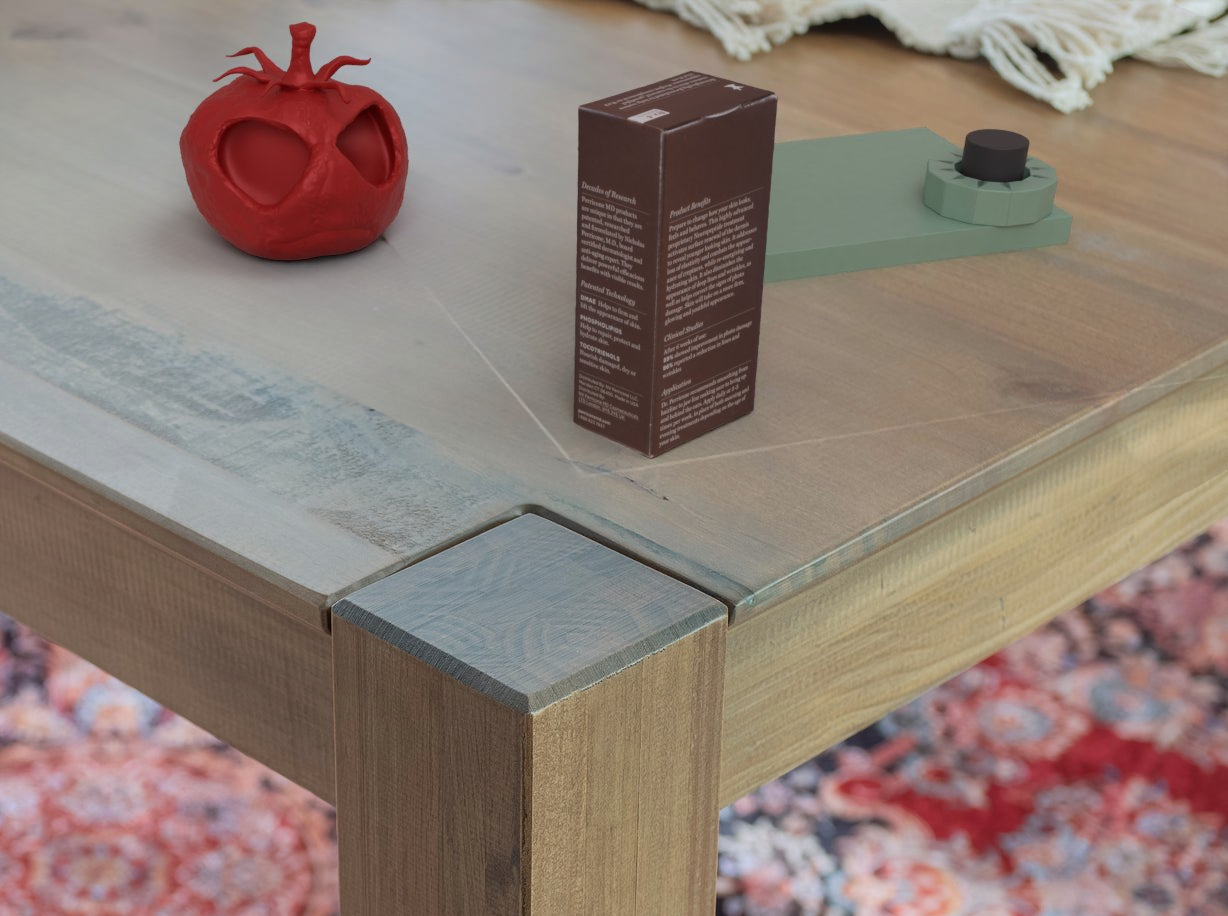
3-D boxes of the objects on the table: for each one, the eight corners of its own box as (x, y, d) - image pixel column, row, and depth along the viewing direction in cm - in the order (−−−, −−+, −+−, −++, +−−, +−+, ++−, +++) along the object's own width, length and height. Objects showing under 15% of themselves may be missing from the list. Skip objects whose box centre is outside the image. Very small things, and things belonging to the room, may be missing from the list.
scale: (921, 154, 96) (930, 94, 95) (1072, 248, 86) (1085, 183, 85) (631, 186, 92) (635, 124, 90) (754, 290, 82) (761, 222, 80)
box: (667, 377, 75) (692, 64, 68) (756, 416, 72) (791, 94, 65) (559, 423, 71) (573, 99, 64) (648, 465, 69) (672, 131, 62)
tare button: (1000, 164, 88) (1007, 126, 86) (1034, 184, 85) (1042, 145, 84) (947, 170, 87) (954, 132, 86) (980, 190, 85) (987, 151, 84)
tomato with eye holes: (169, 210, 89) (151, 2, 83) (376, 188, 91) (372, -14, 86) (213, 290, 81) (197, 67, 75) (437, 264, 84) (437, 47, 78)
